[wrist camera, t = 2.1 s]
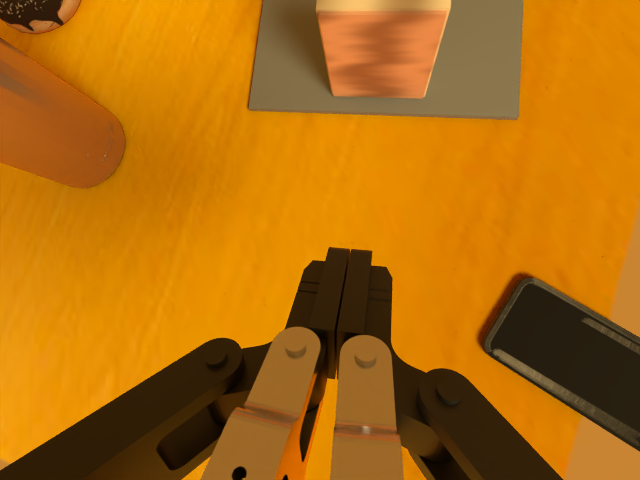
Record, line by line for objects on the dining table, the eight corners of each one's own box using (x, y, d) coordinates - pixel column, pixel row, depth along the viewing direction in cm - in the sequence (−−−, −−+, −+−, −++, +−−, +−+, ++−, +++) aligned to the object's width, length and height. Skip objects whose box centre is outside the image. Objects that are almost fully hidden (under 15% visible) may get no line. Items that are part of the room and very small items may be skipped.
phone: (656, 462, 27) (479, 349, 30) (645, 455, 28) (475, 347, 31) (707, 374, 28) (527, 271, 30) (694, 371, 29) (521, 271, 32)
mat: (250, 110, 37) (248, 108, 36) (268, -27, 39) (267, -32, 38) (516, 119, 33) (518, 117, 33) (522, -34, 35) (524, -38, 35)
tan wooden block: (331, 97, 35) (315, 13, 25) (334, 71, 36) (319, -24, 25) (424, 99, 34) (450, 11, 23) (426, 72, 34) (452, -27, 24)
